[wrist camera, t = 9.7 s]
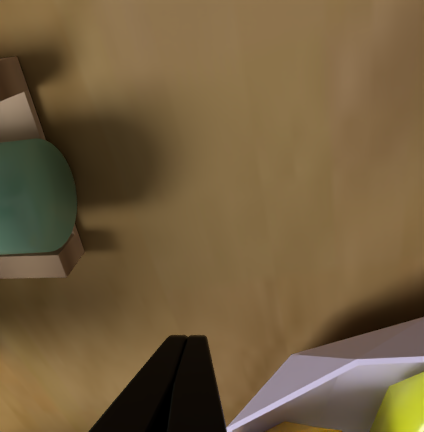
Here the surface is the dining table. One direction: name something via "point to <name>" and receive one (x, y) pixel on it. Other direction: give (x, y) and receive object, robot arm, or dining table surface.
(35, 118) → the shallow wooden tray
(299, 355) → the fruit bowl
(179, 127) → the dining table surface
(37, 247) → the bottle
